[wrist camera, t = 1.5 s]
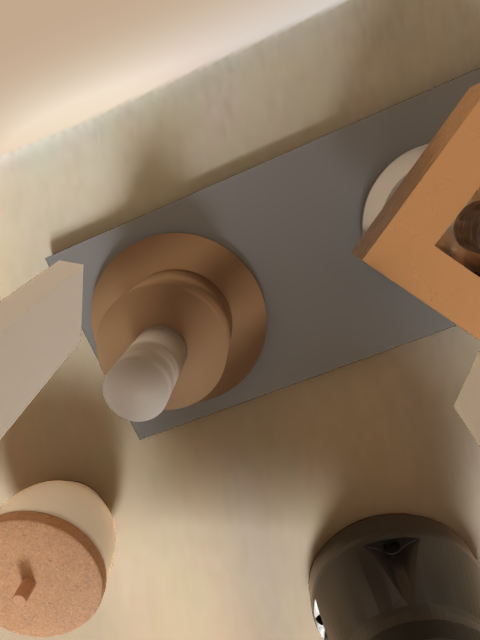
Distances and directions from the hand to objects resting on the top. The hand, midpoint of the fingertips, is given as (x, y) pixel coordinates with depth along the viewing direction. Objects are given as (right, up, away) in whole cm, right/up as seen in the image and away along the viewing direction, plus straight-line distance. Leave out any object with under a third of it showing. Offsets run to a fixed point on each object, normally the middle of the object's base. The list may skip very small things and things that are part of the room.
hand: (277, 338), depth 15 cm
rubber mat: (+3, +4, +19) cm, 20 cm away
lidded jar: (-16, -16, +26) cm, 35 cm away
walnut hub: (-6, +1, +19) cm, 20 cm away
